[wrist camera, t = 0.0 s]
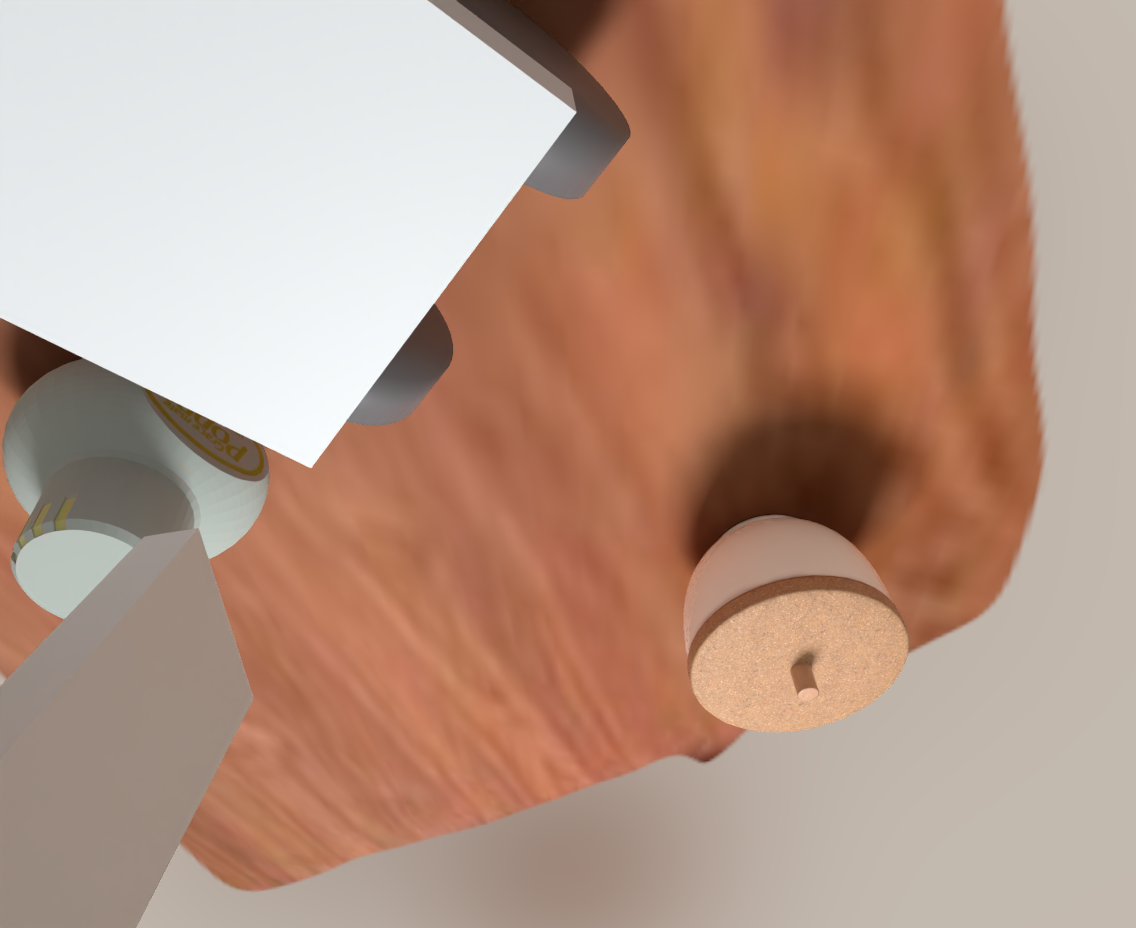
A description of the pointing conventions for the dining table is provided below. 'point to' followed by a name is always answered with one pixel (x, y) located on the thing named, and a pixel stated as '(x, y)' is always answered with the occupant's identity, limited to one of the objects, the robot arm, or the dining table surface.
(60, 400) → the air freshener
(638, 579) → the dining table surface
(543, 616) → the dining table surface
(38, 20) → the trolley
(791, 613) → the lidded jar
